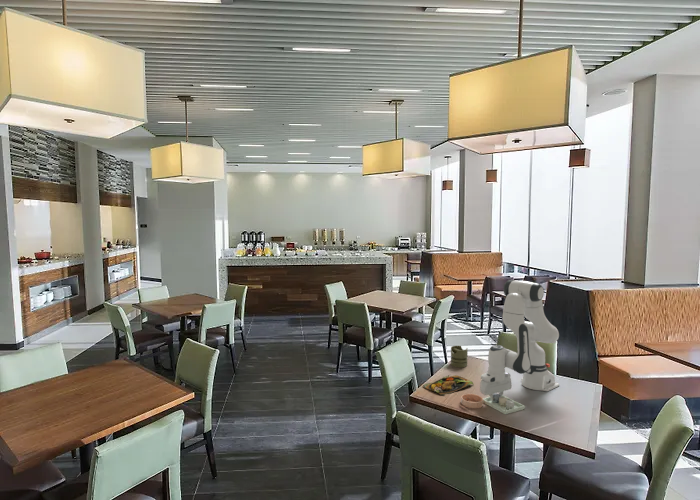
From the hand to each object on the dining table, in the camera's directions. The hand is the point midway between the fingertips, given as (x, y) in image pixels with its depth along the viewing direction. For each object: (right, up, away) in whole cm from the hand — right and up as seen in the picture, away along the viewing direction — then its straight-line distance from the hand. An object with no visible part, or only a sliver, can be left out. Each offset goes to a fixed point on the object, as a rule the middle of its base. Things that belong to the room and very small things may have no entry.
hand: (496, 399), depth 226 cm
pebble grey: (+4, -2, -9) cm, 10 cm away
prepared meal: (-21, -1, +23) cm, 31 cm away
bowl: (-14, -2, -2) cm, 14 cm away
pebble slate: (0, -1, 0) cm, 1 cm away
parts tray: (+2, -2, -4) cm, 5 cm away
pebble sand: (+2, -1, -4) cm, 5 cm away
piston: (-4, +2, +61) cm, 61 cm away
